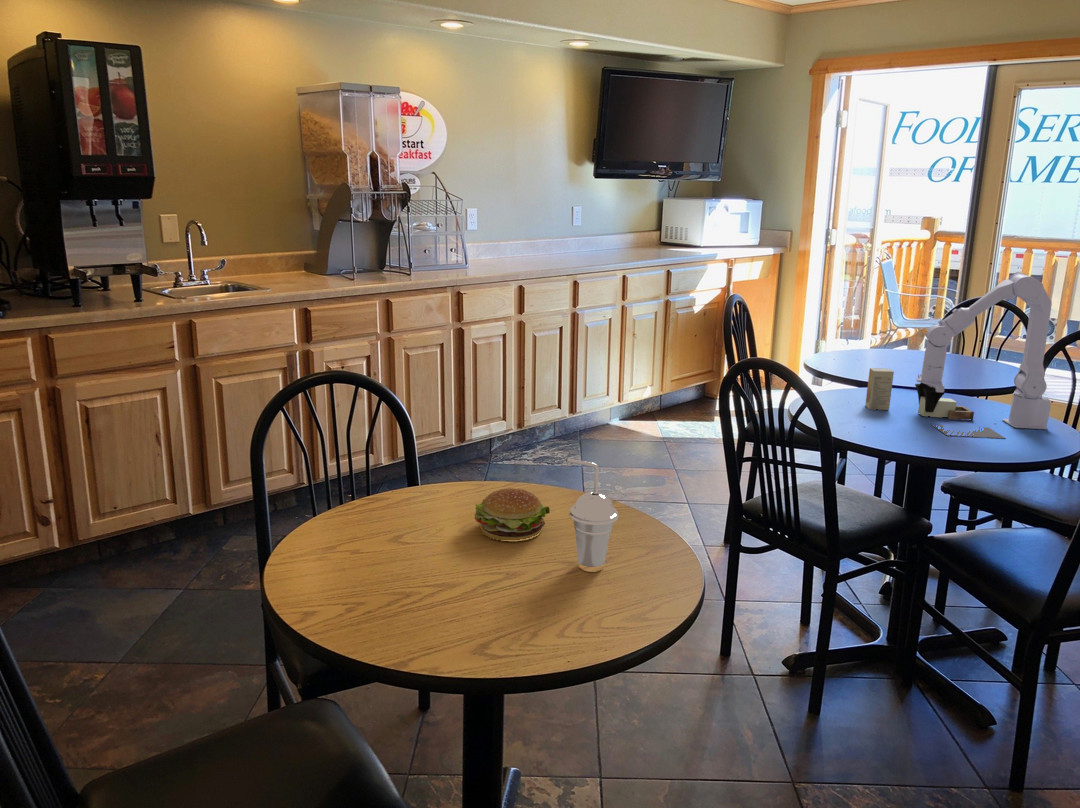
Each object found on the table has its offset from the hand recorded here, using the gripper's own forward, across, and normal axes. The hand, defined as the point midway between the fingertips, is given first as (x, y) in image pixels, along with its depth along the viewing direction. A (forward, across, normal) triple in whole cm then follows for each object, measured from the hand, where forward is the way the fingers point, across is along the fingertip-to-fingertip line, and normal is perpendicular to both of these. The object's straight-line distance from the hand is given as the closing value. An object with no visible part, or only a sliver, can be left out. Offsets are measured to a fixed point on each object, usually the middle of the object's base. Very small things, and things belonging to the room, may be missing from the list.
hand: (926, 409), depth 251 cm
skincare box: (+2, -6, -12) cm, 14 cm away
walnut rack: (+2, 0, +9) cm, 9 cm away
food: (+2, +99, -117) cm, 154 cm away
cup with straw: (+2, +112, -102) cm, 152 cm away
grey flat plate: (+2, +16, +6) cm, 17 cm away
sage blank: (+2, 0, +3) cm, 3 cm away
